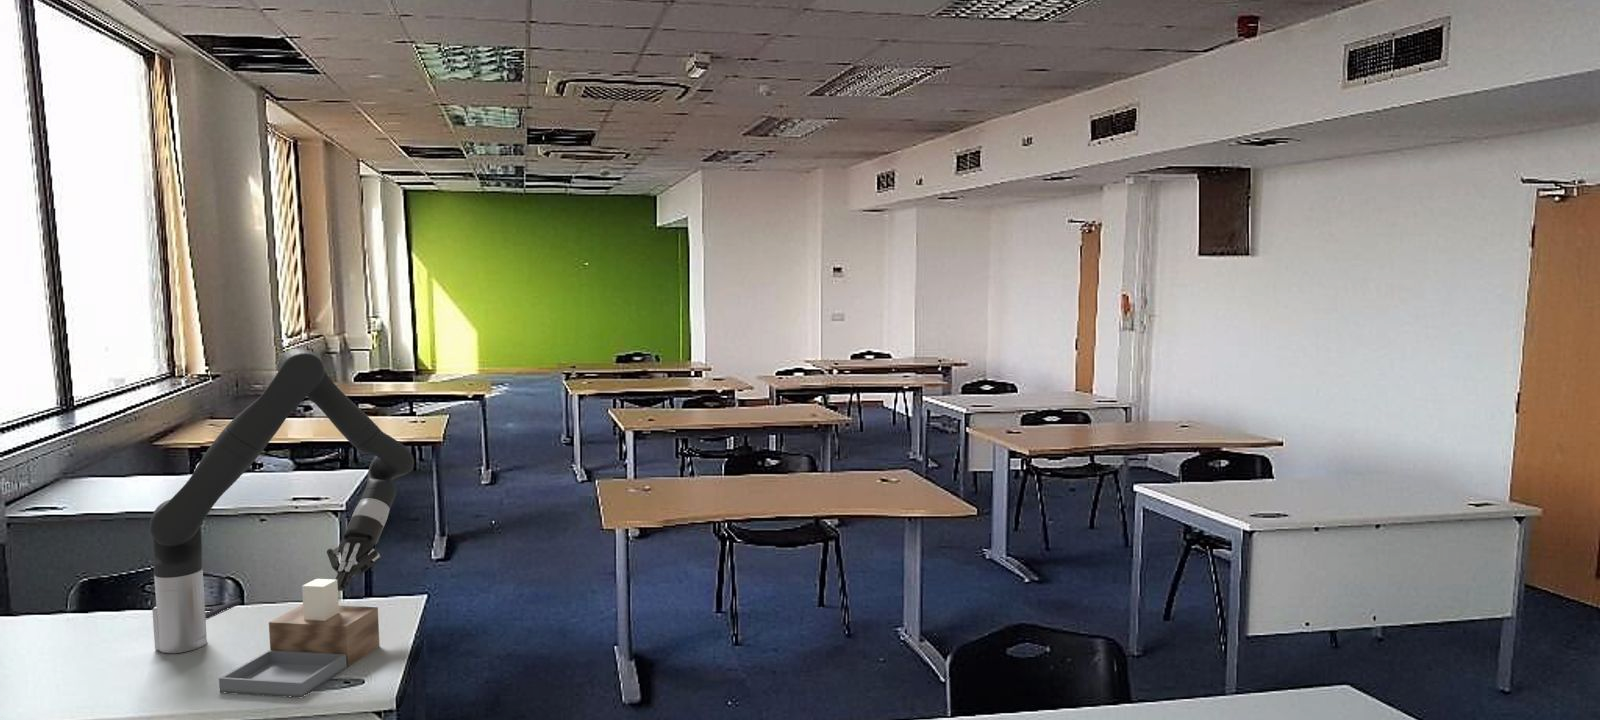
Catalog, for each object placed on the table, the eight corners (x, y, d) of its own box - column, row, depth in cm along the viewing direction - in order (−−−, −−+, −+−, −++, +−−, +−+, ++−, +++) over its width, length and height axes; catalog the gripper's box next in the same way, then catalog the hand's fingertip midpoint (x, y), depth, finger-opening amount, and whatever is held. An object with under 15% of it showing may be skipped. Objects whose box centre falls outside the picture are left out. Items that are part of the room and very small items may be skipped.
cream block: (303, 619, 219) (302, 585, 218) (318, 611, 223) (316, 578, 223) (325, 620, 218) (323, 586, 217) (338, 612, 223) (337, 579, 222)
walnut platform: (271, 662, 218) (268, 622, 217) (306, 642, 230) (304, 603, 229) (348, 667, 215) (346, 626, 214) (379, 646, 227) (377, 607, 226)
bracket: (191, 602, 260) (190, 591, 260) (242, 605, 257) (241, 594, 257) (145, 622, 246) (144, 610, 245) (198, 625, 243) (198, 614, 243)
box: (219, 692, 203) (218, 678, 202) (269, 663, 217) (268, 650, 217) (302, 698, 200) (301, 683, 200) (346, 668, 215) (346, 654, 214)
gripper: (334, 512, 236) (304, 580, 225) (387, 514, 234) (359, 582, 223) (348, 529, 242) (319, 595, 231) (400, 531, 240) (373, 598, 229)
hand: (339, 589), depth 227 cm, fingers closed
